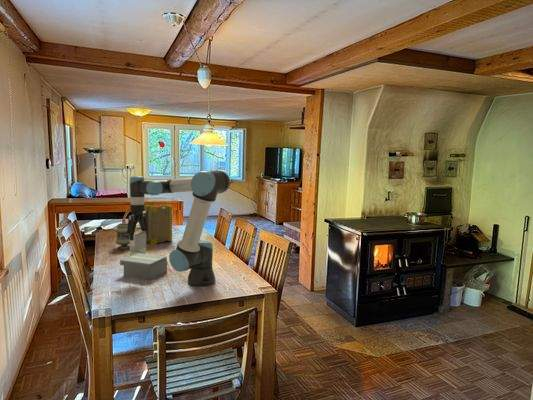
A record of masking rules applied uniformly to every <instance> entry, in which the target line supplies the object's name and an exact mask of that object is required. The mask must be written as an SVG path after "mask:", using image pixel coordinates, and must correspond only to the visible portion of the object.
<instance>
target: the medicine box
mask: <svg viewBox="0 0 533 400" xmlns="http://www.w3.org/2000/svg"><path fill="white" fill-rule="evenodd" d="M134 234H135V246H130V245H129V246H130V249H132V250H137V249H141V248H146V249H147V243H146V233H144V232H140V231H138V232H134ZM129 239H130V234H129ZM130 249H129V250H130Z"/></svg>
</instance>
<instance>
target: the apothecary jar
mask: <svg viewBox="0 0 533 400" xmlns="http://www.w3.org/2000/svg"><path fill="white" fill-rule="evenodd" d="M127 227H128V222H127V223H125V222H124V223H123V222H122V223H118V224H117V226H116V227H115V232H116V239H115V240H114V241H115V243H116V244H117V245H119V246H118V247H117V248H116V249H117V250H120V249H126V250H130V249H129V248H130V239H129V234H127Z"/></svg>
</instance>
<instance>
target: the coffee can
mask: <svg viewBox="0 0 533 400" xmlns="http://www.w3.org/2000/svg"><path fill="white" fill-rule="evenodd" d="M137 253H142V254H147V247H146V248H141V249H137V250H132V249H129V256H132V255H134V254H137Z"/></svg>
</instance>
